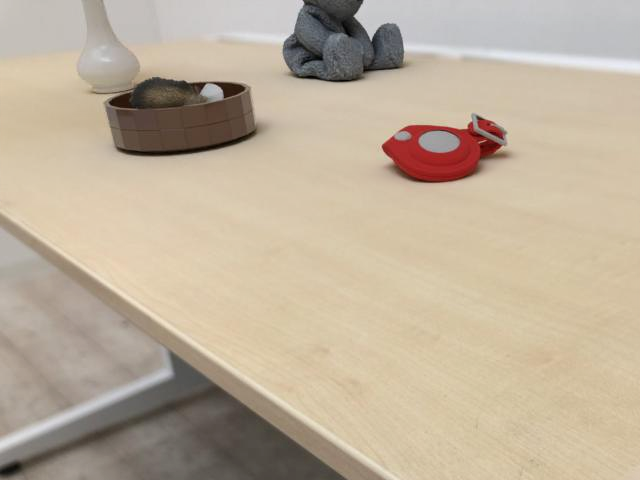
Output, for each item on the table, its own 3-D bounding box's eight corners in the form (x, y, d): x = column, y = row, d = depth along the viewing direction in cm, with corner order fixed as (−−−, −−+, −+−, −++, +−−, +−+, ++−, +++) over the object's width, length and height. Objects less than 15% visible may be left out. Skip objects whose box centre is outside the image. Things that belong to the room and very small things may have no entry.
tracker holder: (457, 175, 70) (363, 140, 73) (455, 215, 73) (364, 180, 77) (519, 114, 78) (430, 85, 81) (514, 153, 81) (429, 124, 84)
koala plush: (348, 84, 120) (332, -62, 111) (260, 78, 129) (239, -57, 120) (412, 65, 133) (403, -67, 124) (328, 61, 142) (314, -62, 133)
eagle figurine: (175, 113, 99) (118, 115, 91) (196, 62, 95) (139, 59, 87) (219, 150, 97) (165, 156, 90) (242, 100, 94) (188, 101, 86)
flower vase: (60, 105, 117) (7, -88, 106) (83, 84, 134) (40, -86, 122) (151, 96, 120) (110, -93, 108) (164, 77, 136) (129, -90, 124)
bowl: (83, 150, 91) (71, 105, 89) (185, 119, 104) (176, 79, 102) (190, 161, 84) (180, 113, 82) (284, 126, 97) (278, 83, 95)
